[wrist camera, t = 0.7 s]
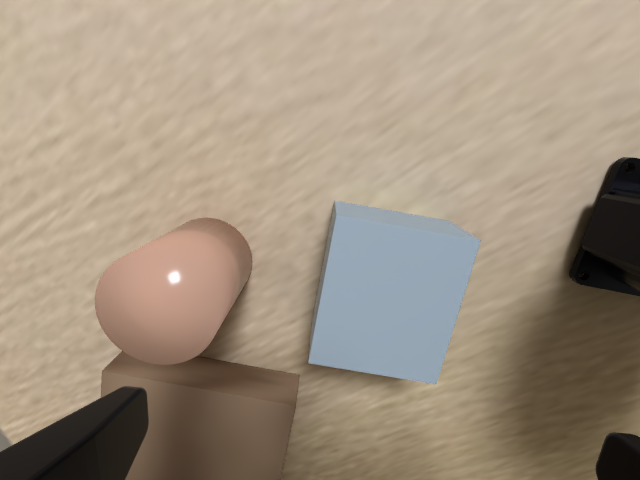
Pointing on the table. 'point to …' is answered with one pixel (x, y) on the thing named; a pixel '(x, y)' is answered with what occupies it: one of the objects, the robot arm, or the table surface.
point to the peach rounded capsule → (174, 291)
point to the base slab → (209, 418)
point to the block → (389, 292)
